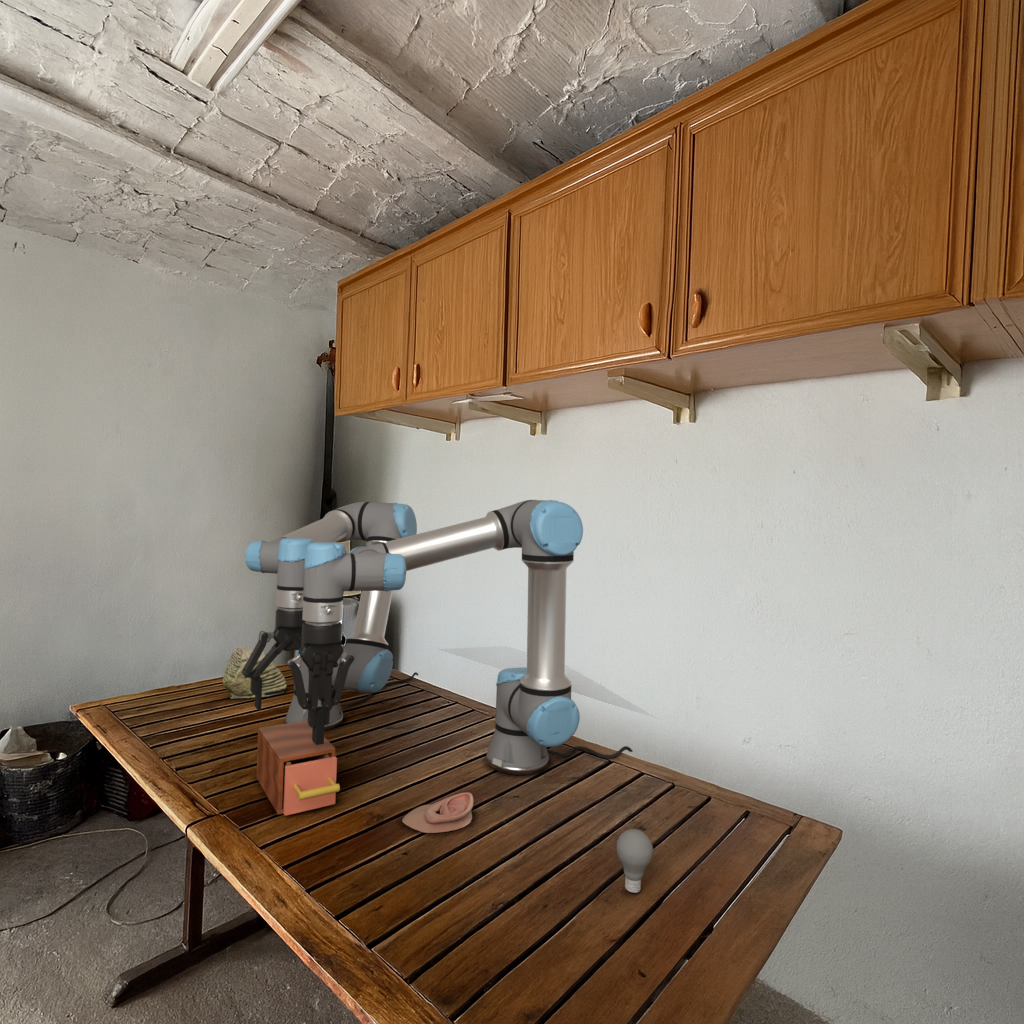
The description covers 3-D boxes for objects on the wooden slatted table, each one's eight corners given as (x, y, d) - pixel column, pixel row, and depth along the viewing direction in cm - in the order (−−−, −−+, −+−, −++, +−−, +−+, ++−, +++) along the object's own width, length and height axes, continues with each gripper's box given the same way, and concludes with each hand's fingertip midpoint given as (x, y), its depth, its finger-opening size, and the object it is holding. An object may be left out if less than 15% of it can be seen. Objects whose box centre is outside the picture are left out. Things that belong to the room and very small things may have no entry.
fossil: (218, 695, 195) (220, 647, 195) (278, 685, 208) (279, 640, 207) (228, 703, 189) (230, 653, 188) (289, 692, 201) (290, 645, 201)
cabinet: (333, 801, 132) (335, 748, 132) (277, 814, 126) (279, 758, 125) (307, 767, 148) (308, 719, 147) (256, 777, 141) (258, 727, 141)
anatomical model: (396, 808, 122) (417, 782, 133) (395, 828, 122) (416, 801, 133) (463, 818, 119) (478, 791, 130) (462, 839, 119) (477, 810, 131)
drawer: (344, 816, 125) (346, 768, 124) (292, 828, 119) (294, 779, 119) (309, 770, 144) (311, 729, 144) (263, 780, 138) (265, 737, 138)
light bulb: (610, 879, 108) (613, 822, 108) (644, 879, 109) (647, 822, 109) (619, 902, 102) (622, 840, 102) (655, 901, 103) (658, 840, 103)
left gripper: (237, 614, 130) (232, 717, 130) (354, 607, 144) (350, 700, 144) (230, 608, 136) (226, 706, 137) (343, 602, 150) (339, 691, 150)
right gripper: (293, 628, 117) (288, 755, 117) (361, 623, 124) (356, 742, 124) (283, 620, 123) (278, 741, 123) (348, 616, 130) (343, 730, 130)
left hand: (290, 703), depth 140 cm, fingers open, 13 cm apart
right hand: (317, 741), depth 124 cm, fingers closed
